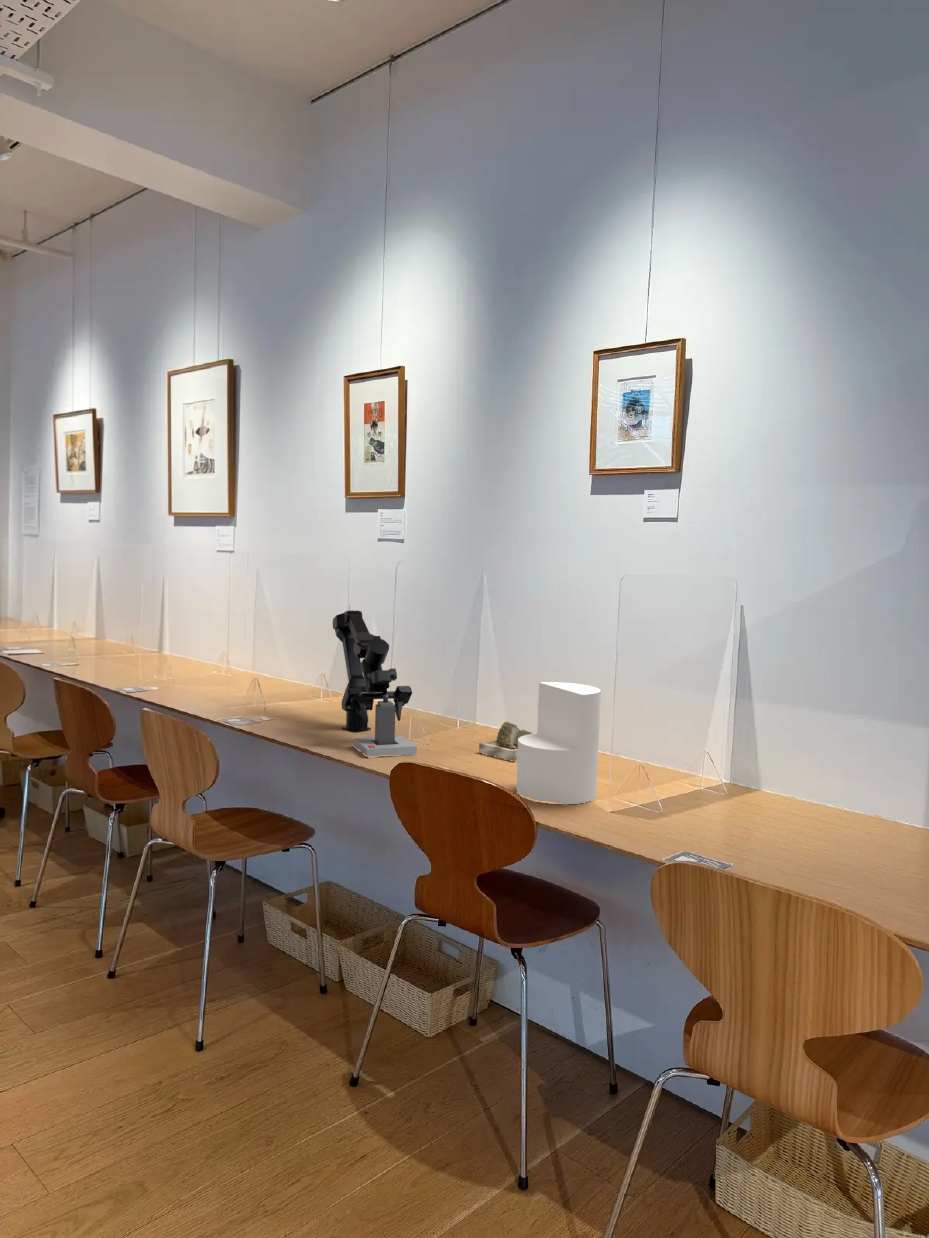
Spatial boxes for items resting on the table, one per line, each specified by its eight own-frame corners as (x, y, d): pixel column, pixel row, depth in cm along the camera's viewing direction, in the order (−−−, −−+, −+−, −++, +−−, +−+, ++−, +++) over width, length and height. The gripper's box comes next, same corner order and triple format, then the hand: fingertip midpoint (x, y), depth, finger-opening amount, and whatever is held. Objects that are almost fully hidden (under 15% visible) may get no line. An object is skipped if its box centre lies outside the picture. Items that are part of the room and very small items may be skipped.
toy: (553, 740, 252) (509, 723, 261) (542, 735, 247) (498, 718, 256) (543, 764, 252) (500, 747, 260) (532, 760, 246) (488, 742, 255)
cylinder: (572, 780, 225) (576, 681, 223) (611, 801, 208) (616, 693, 206) (503, 786, 218) (506, 683, 216) (537, 808, 201) (541, 696, 199)
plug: (374, 747, 252) (375, 693, 251) (390, 746, 254) (391, 693, 253) (378, 750, 248) (379, 696, 247) (394, 749, 250) (395, 696, 248)
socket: (353, 746, 255) (353, 736, 255) (400, 744, 260) (401, 733, 260) (366, 758, 242) (367, 747, 242) (416, 755, 247) (416, 744, 247)
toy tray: (478, 753, 251) (479, 743, 251) (527, 742, 266) (528, 733, 266) (514, 762, 242) (514, 751, 242) (563, 750, 257) (563, 740, 257)
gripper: (347, 659, 252) (356, 706, 243) (411, 657, 259) (422, 703, 249) (339, 682, 260) (348, 728, 251) (401, 680, 267) (412, 725, 258)
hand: (383, 721), depth 252 cm, fingers open, 9 cm apart
